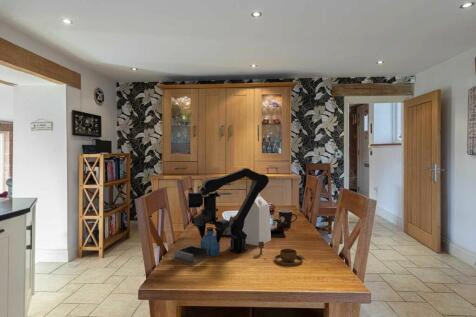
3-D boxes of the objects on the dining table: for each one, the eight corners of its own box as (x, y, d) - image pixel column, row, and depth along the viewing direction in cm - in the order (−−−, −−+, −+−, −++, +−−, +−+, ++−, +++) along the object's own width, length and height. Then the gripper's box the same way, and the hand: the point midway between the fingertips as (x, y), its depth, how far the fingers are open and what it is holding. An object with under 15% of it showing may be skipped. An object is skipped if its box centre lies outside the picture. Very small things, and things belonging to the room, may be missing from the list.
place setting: (275, 270, 122) (275, 255, 122) (255, 254, 141) (255, 242, 141) (313, 264, 128) (313, 250, 128) (289, 250, 147) (289, 238, 147)
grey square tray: (211, 257, 136) (211, 248, 136) (191, 265, 126) (191, 256, 126) (191, 252, 143) (191, 244, 143) (171, 260, 133) (171, 250, 133)
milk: (252, 237, 170) (252, 190, 169) (270, 240, 163) (270, 191, 163) (240, 242, 160) (239, 192, 159) (259, 245, 153) (259, 193, 153)
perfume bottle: (210, 257, 137) (210, 230, 137) (200, 254, 141) (200, 228, 141) (219, 253, 142) (219, 227, 142) (209, 250, 146) (209, 225, 146)
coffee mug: (275, 226, 195) (275, 210, 195) (287, 224, 199) (287, 209, 199) (286, 230, 185) (286, 213, 184) (298, 228, 188) (298, 212, 188)
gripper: (182, 207, 140) (183, 241, 141) (213, 211, 129) (214, 248, 129) (199, 204, 149) (199, 236, 149) (230, 207, 138) (230, 242, 138)
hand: (210, 240), depth 141 cm, fingers open, 9 cm apart
